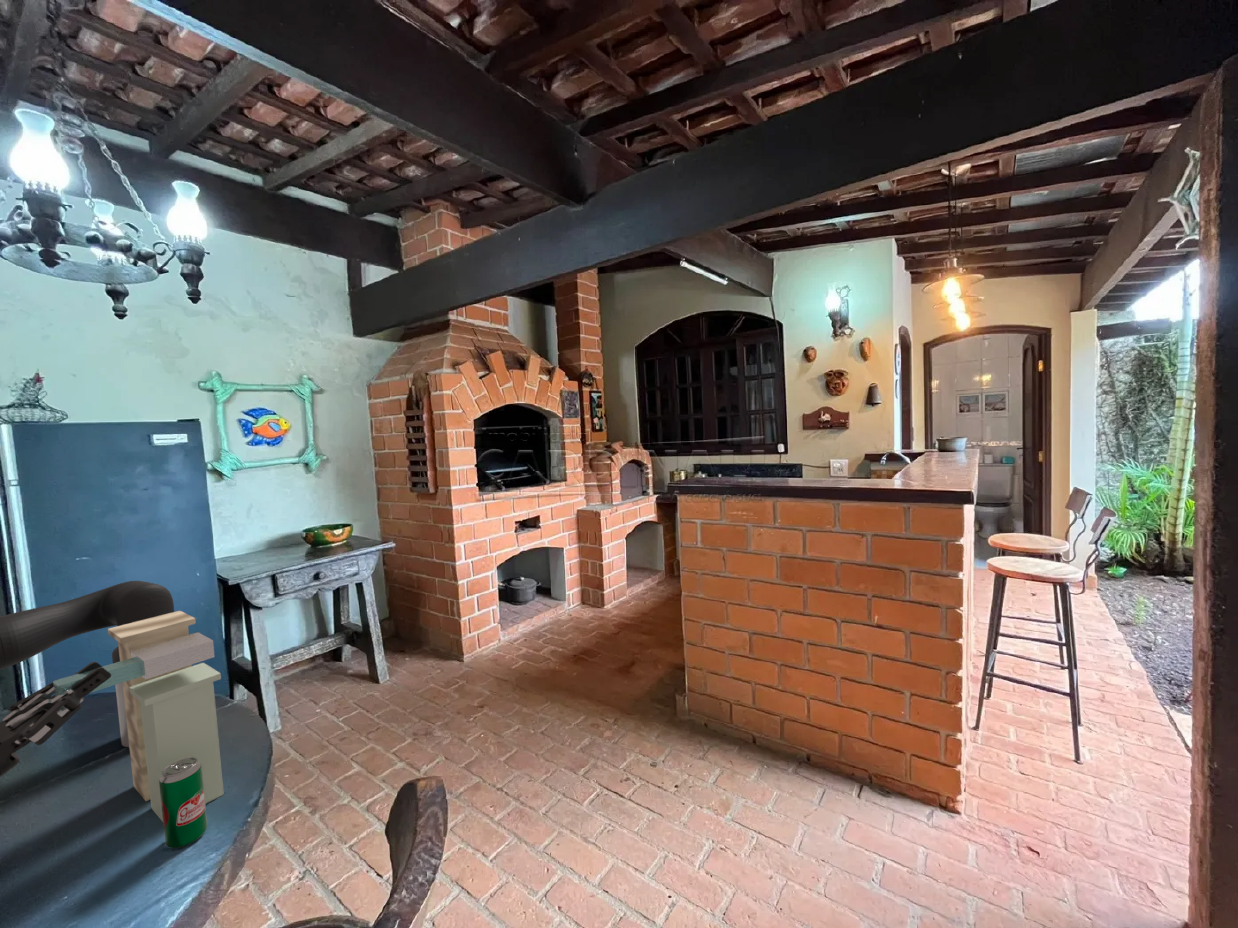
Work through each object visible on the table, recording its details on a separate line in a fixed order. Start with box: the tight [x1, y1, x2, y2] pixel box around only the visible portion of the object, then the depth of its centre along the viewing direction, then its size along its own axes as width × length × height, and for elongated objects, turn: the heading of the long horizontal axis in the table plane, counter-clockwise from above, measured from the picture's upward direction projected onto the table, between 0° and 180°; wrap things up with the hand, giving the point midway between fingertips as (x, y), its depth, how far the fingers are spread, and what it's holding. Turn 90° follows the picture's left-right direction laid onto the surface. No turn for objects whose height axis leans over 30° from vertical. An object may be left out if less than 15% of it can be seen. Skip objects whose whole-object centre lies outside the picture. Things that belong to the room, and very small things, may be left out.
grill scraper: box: [52, 631, 215, 697], centre depth 82 cm, size 7×18×3 cm, turn 147°
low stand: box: [129, 662, 225, 823], centre depth 87 cm, size 8×10×22 cm
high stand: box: [107, 610, 197, 802], centre depth 92 cm, size 8×10×30 cm
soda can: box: [159, 757, 208, 850], centre depth 79 cm, size 5×5×12 cm
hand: (102, 668), depth 78 cm, fingers closed on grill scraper, 3 cm apart
